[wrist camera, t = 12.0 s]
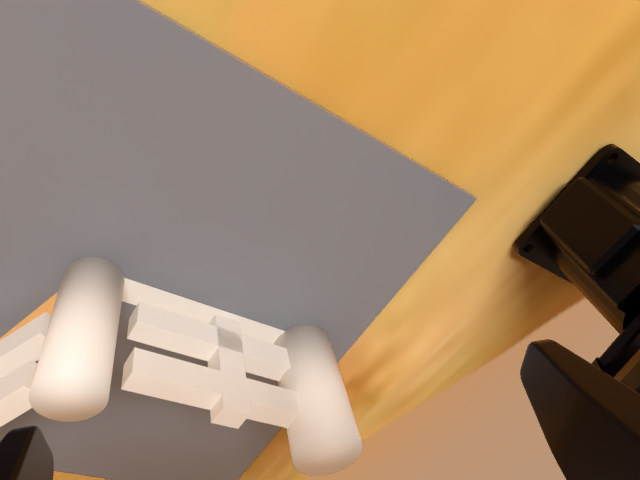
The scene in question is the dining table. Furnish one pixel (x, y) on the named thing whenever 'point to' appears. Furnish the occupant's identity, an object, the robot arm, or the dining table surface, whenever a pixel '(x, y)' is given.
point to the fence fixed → (193, 369)
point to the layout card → (189, 213)
